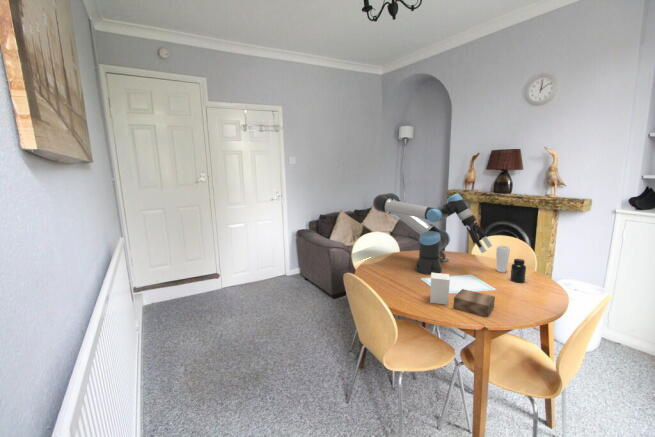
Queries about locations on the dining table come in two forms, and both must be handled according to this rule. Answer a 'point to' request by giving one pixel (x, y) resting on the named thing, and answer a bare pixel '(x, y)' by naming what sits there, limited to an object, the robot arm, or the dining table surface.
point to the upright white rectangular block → (439, 288)
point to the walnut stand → (474, 302)
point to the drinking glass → (502, 258)
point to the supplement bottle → (518, 271)
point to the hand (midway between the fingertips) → (487, 249)
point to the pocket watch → (442, 256)
